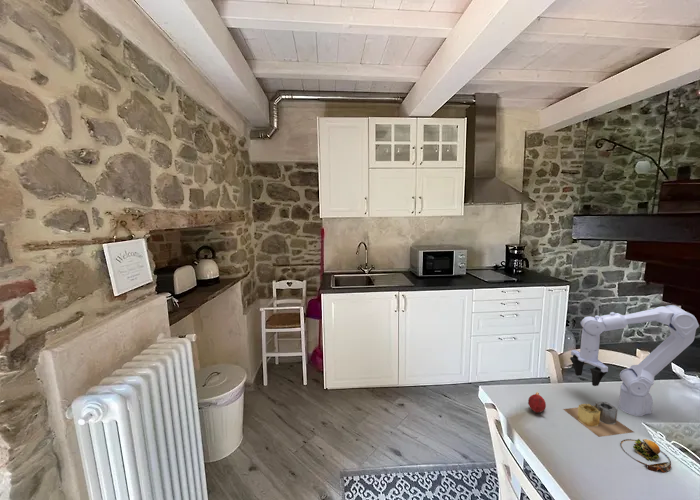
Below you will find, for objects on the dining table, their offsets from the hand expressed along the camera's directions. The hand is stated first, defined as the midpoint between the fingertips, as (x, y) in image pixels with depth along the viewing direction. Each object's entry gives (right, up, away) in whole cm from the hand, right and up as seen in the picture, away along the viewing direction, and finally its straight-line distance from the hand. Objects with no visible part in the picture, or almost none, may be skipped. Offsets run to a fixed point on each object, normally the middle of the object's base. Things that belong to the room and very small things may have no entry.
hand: (586, 380), depth 125 cm
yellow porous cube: (-8, -10, -11) cm, 17 cm away
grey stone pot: (-1, -10, -10) cm, 14 cm away
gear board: (-4, -11, -10) cm, 16 cm away
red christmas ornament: (-22, -11, -4) cm, 25 cm away
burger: (-1, -14, -26) cm, 30 cm away
